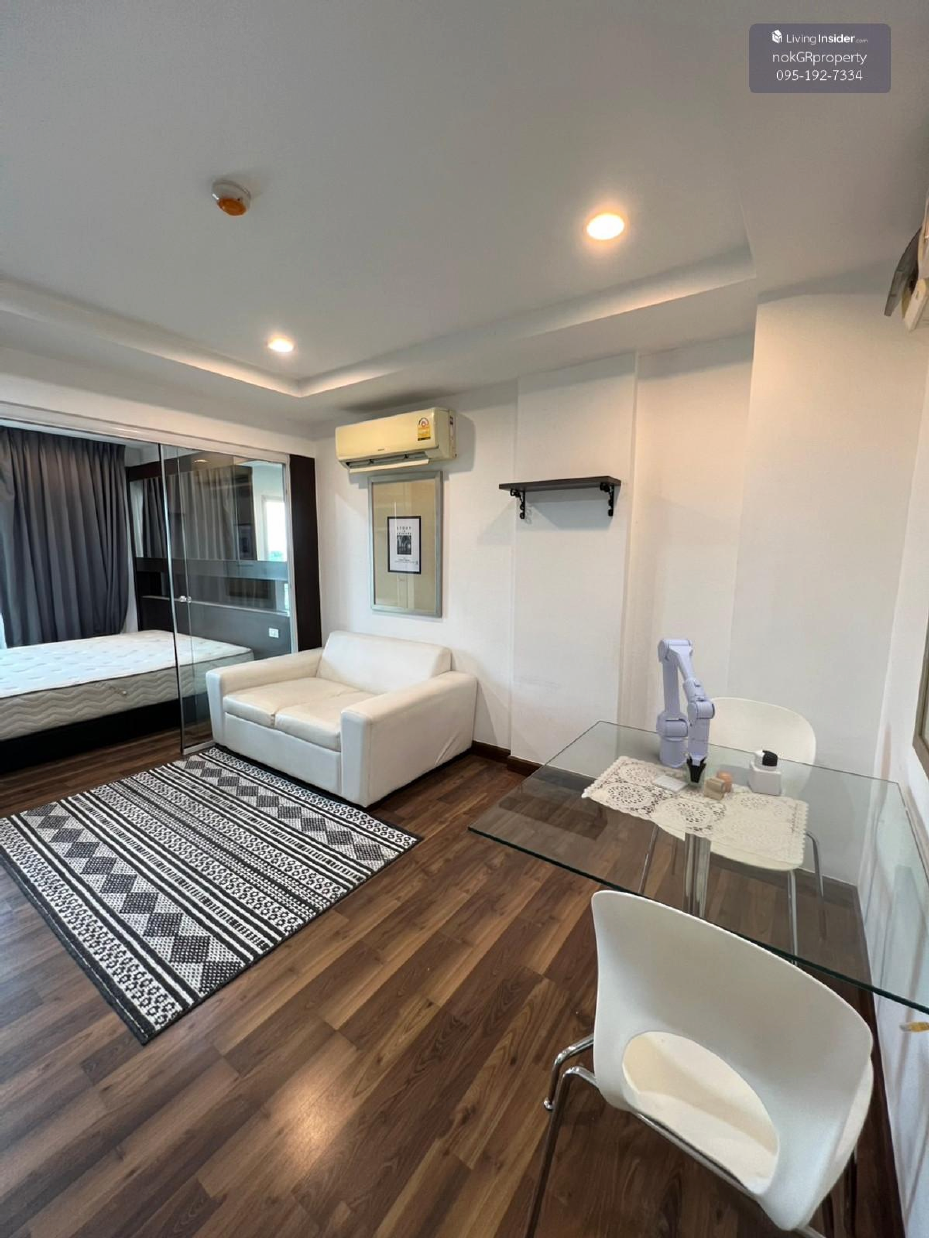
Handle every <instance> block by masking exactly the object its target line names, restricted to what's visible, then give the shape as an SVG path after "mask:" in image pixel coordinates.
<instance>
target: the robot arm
mask: <svg viewBox="0 0 929 1238" xmlns="http://www.w3.org/2000/svg"><path fill="white" fill-rule="evenodd" d="M693 649H694V647H693V643H692V641H691V639H689V638H661V639H660V640H659V641H658V645H657V658H658V662H659V663H660V664H661V666H662V667H661V668H662V680H663V682H662V684H663V685H662V686H663V698H664V699H663V703H664V710H662V711H661V712H660V713H659V714H657V716H656V724H655V730H656V734H657V735H658V737H659V738H660V743H659V744H660V746H659V756H658V757H659V761H661V763H662V764H665V765H668V766H670V767H673V768H676V769H677V768H679V767H680V766H682V765H683V764H685V763H686V766H687V765H688V767H689V771H690V779H691V782H694V783H699V780H700V777H701V774H702V771H703V770H704V768H705V769H706V767H707V762H705V761H706V759H707V758H708V756H709V751H708V750H709V748H708V747H709V741H710V740H709V738H710V737H709V736H710V725H711V720H713V719H714V717H715V715H716V709H715V708H716V707H715V704H714V702H713V701H712V700H711V699H710V698H709V697H707V695H706V692H705V689H704V686H703V684H702V681H701V680H700V679H698V678H696V677H697V676H696V673H695V669H694V665H693V662H692V656H693ZM679 672H680V675H681V676H682V678H683V681H684V682H683V683H682V689H683V692H684V695H685V698H686V701H687V703H688V704H687V705H686V713H687V715H686V714H685V713H683V712H682V711H681V703H680V700H681V699H680V688H679V687H680V685H679V684H680V683H679ZM687 737H688V741H687V742H686V738H687ZM686 753H687V756H688V757H689V758H686Z"/></svg>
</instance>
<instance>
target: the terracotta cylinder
mask: <svg viewBox="0 0 929 1238" xmlns="http://www.w3.org/2000/svg"><path fill="white" fill-rule="evenodd" d="M733 776H734V775H733V774H732V772H728V771H725V770H717V771H716V777H715V778H718V779H721V780H724V781H726V782H725V793H731V792H732V789H733V788H732V787H733V779H734V777H733Z"/></svg>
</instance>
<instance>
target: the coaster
mask: <svg viewBox="0 0 929 1238" xmlns="http://www.w3.org/2000/svg"><path fill="white" fill-rule="evenodd" d="M651 785H654V786H657V787H659V788H662V789H664V790H667V791H669V792H672V793H675V794H677V793H679V792H680V791H682V790H683V789H685V788H686V787H687V786H688V785H689V784H688V783H686V781H682V780H679V779H677V778H674V777H671V776H668V775H665V774H662V775H661V776H659V777H657V778H655V780H652V781H651Z"/></svg>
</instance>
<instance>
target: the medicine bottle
mask: <svg viewBox="0 0 929 1238" xmlns="http://www.w3.org/2000/svg"><path fill="white" fill-rule="evenodd" d="M778 760H779V756H778V755H777V754H776V753H774V752H772V751H771V750H765V749H759V750H756V751H754V760H753V761H750V762H749V768H748V779H747V783H748V786H749V787H750V789H751V790H752V792H753V793H758V794H764V795H765V794H766V795H772V796H778V797H779V796H780V793H781V792H780V789H781V782H782V781H781V780H782V773H781V772H780V770H779V768H778Z"/></svg>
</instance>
